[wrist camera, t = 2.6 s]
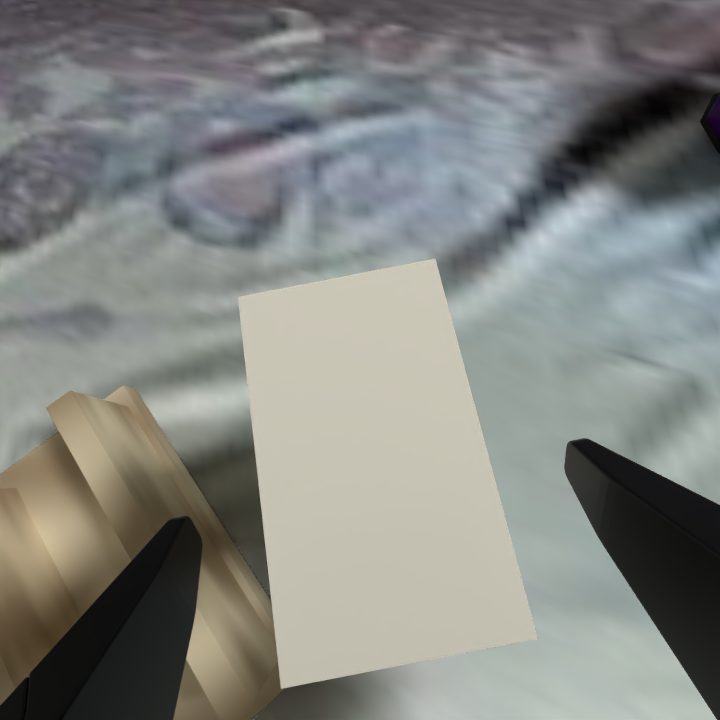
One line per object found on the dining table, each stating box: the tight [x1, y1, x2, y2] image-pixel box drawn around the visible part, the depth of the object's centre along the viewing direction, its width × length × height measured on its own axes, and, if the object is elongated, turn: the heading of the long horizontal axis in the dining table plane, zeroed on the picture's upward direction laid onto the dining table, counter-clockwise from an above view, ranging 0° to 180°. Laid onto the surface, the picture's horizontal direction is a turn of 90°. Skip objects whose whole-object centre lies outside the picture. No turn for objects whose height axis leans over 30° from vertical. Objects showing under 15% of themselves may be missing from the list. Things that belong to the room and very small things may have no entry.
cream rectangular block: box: [238, 259, 538, 689], centre depth 12 cm, size 5×3×13 cm, turn 10°
